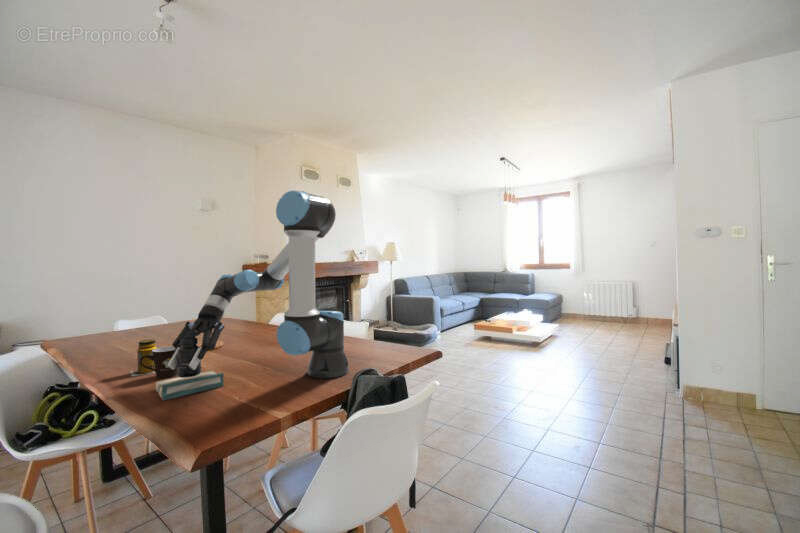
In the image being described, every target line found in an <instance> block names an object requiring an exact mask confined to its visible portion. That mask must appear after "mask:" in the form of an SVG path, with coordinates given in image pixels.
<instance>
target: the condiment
mask: <svg viewBox="0 0 800 533" xmlns="http://www.w3.org/2000/svg"><path fill="white" fill-rule="evenodd" d="M137 343H138V348H137V355H136V356H137V370H133V371H129V374H130V376H131V377H137V376H142V375H149V374H156V372H155V371H153V370H150V369H148V368H145V367H143V366H142V365H141V364H140V359H141V358H142V357H143V356H146V355H151V356H153V352H152V350H154V349H157V348H158V347H157V346H156V340H155V339H145V340H140V341H138V342H137ZM142 364H143V365H145V366H147V367H150V368H153V369H155V365H154V361H153V360H152V358H150V357H145V358H143V359H142Z"/></svg>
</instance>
